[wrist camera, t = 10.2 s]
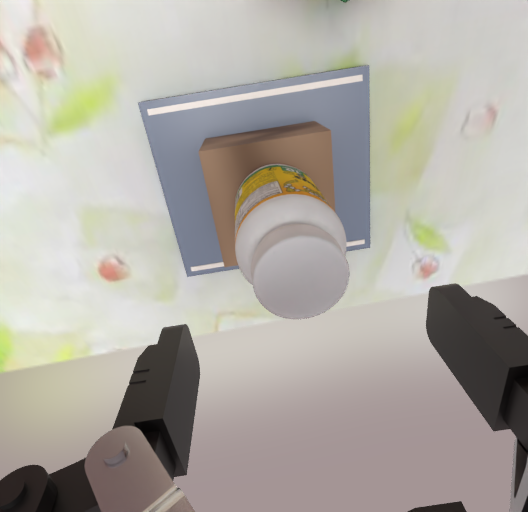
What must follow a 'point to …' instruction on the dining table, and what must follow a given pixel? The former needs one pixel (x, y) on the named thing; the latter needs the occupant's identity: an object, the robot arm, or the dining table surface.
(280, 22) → the dining table surface
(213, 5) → the dining table surface
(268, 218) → the supplement bottle
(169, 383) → the robot arm
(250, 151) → the walnut plinth
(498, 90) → the dining table surface
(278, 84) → the blueprint board
